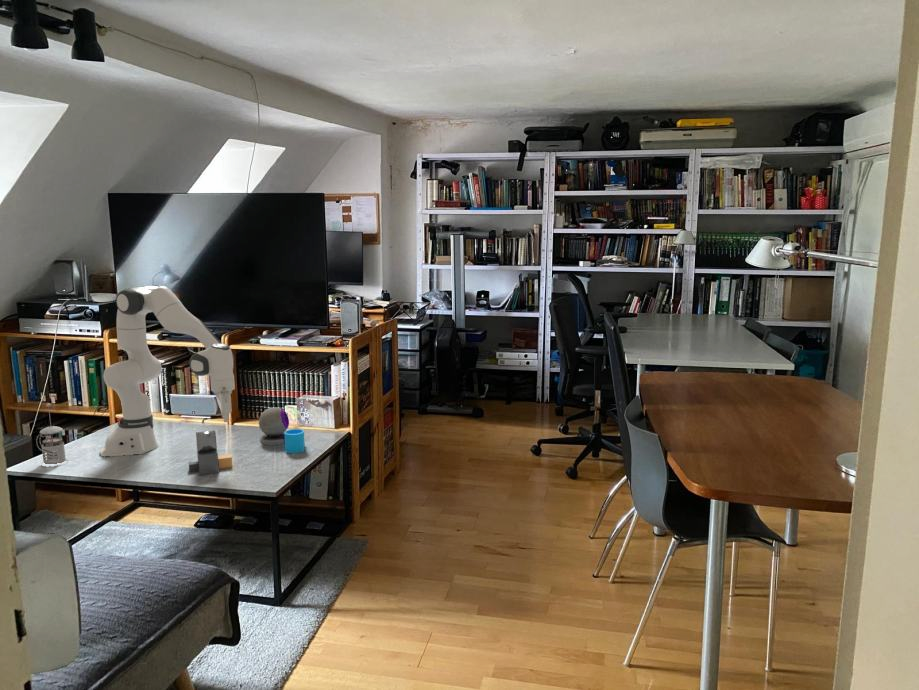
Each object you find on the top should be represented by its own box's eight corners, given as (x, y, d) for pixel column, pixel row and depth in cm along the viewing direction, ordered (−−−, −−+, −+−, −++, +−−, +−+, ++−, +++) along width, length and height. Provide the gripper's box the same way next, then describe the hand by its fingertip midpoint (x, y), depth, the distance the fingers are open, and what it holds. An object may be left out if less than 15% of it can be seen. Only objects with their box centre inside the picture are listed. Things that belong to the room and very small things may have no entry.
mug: (299, 454, 288) (298, 435, 287) (281, 452, 290) (280, 434, 289) (311, 445, 300) (311, 427, 298) (294, 443, 301) (293, 425, 300)
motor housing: (199, 475, 264) (196, 437, 261) (198, 463, 277) (195, 427, 274) (218, 472, 267) (216, 435, 264) (216, 461, 279) (213, 425, 277)
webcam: (286, 444, 301) (284, 411, 298) (256, 445, 300) (254, 411, 297) (292, 435, 313) (290, 403, 311) (263, 436, 313) (261, 404, 310)
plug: (189, 472, 267) (188, 462, 266) (189, 469, 271) (188, 459, 270) (232, 466, 273) (231, 457, 273) (231, 463, 277) (231, 454, 276)
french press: (56, 468, 273) (49, 407, 268) (31, 466, 275) (23, 405, 270) (74, 459, 282) (68, 400, 278) (49, 458, 284) (43, 399, 280)
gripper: (234, 390, 261) (236, 425, 263) (228, 379, 279) (230, 412, 282) (216, 391, 258) (219, 427, 261) (212, 380, 277) (214, 414, 279)
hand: (225, 419), depth 271 cm, fingers open, 6 cm apart
